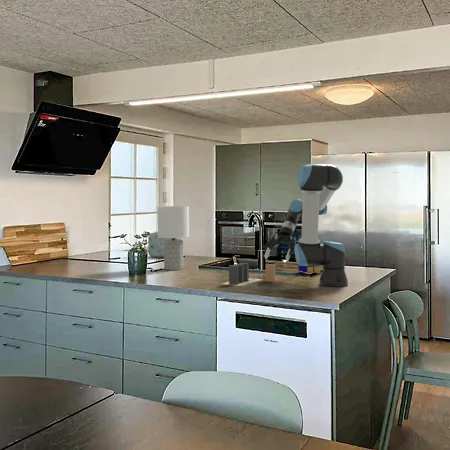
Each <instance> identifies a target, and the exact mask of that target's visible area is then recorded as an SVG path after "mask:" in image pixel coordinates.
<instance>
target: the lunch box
mask: <svg viewBox="0 0 450 450" xmlns="http://www.w3.org/2000/svg"><path fill="white" fill-rule="evenodd" d="M150 234H151V235H150V236H149V235H148V241H147V242H148V243H147V246H148V247H147V248H148V251H147V252H148V255H149V257H152V258H163V259H164V241H165V240H169V239H172V238H159V237H158V231H154V232H151V233H150ZM175 239H180V240H182V238H175Z"/></svg>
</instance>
